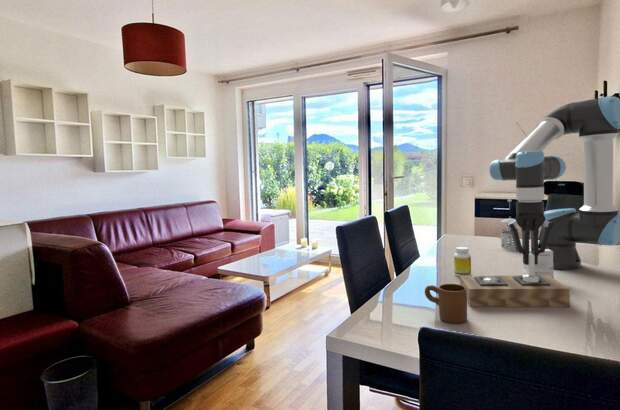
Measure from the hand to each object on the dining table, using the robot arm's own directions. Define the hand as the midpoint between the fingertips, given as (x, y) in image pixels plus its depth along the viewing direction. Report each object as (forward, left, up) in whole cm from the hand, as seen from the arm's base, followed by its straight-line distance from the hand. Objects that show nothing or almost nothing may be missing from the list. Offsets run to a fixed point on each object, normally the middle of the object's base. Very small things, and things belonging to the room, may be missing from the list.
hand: (530, 274), depth 118 cm
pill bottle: (+15, -27, -8) cm, 32 cm away
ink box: (-9, -18, -8) cm, 22 cm away
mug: (+29, +16, -8) cm, 34 cm away
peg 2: (0, 0, -7) cm, 7 cm away
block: (+6, 0, -8) cm, 10 cm away
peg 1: (+12, 0, -8) cm, 14 cm away
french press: (-16, -72, -8) cm, 74 cm away
